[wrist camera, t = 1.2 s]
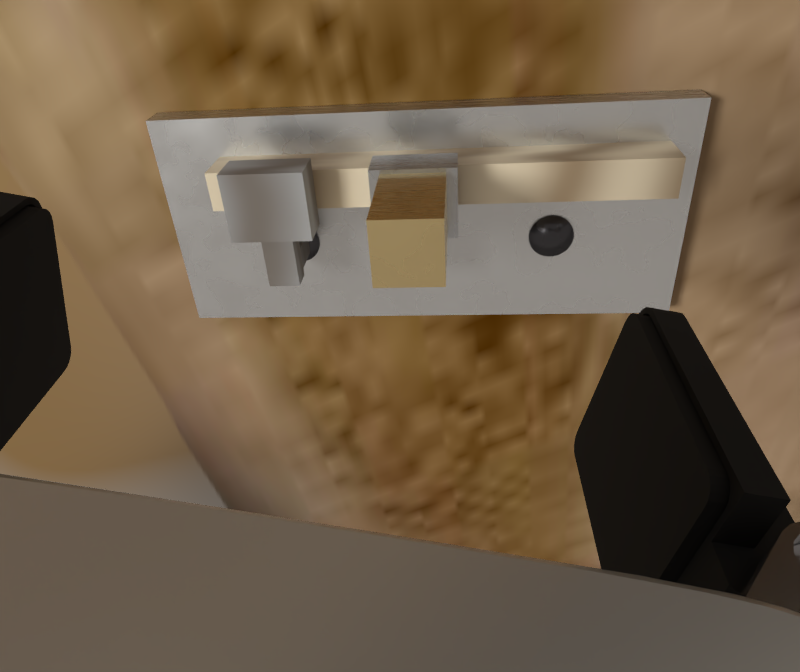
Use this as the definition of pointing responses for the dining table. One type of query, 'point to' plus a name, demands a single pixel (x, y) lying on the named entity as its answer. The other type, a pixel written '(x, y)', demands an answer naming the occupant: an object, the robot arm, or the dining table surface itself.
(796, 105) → the dining table surface
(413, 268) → the block
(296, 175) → the sliding bolt bar
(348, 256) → the bolt plate
